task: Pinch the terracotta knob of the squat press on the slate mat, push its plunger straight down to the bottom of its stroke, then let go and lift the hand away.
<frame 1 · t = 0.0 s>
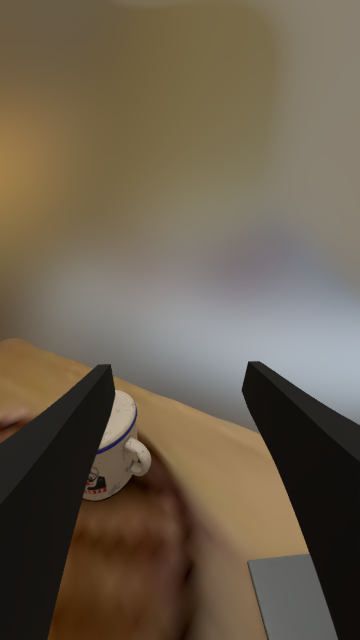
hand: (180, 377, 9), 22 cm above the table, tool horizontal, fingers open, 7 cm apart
teacup with lid: (115, 468, 24), on the table
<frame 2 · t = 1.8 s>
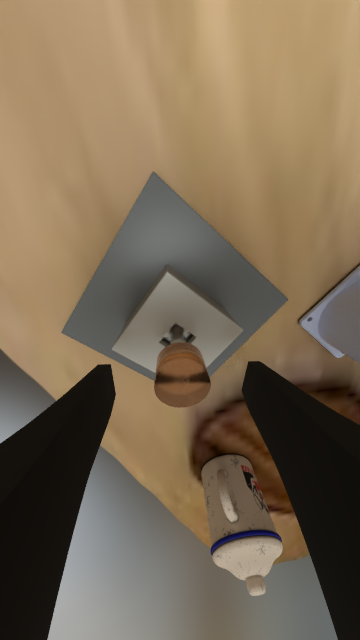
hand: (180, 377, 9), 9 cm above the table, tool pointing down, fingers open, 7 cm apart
plunger: (179, 352, 11), point 7 cm above the table, slide at 0.0 cm
press: (175, 314, 17), on the table
teacup with lid: (222, 462, 29), on the table
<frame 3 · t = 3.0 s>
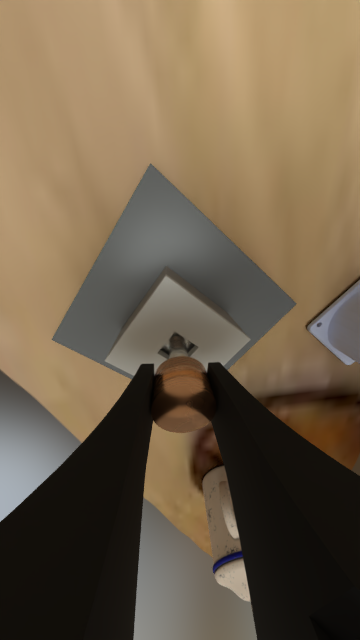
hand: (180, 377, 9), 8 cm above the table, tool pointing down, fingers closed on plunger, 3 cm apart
plunger: (179, 366, 10), point 7 cm above the table, slide at 0.0 cm, touching gripper
press: (174, 319, 16), on the table
teacup with lid: (224, 471, 28), on the table
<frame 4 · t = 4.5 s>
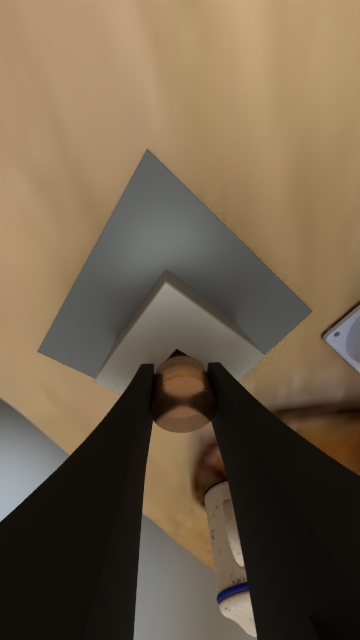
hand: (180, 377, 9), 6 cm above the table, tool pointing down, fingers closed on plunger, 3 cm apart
plunger: (179, 366, 10), point 5 cm above the table, slide at 1.9 cm, touching gripper
press: (175, 329, 14), on the table
teacup with lid: (228, 487, 26), on the table
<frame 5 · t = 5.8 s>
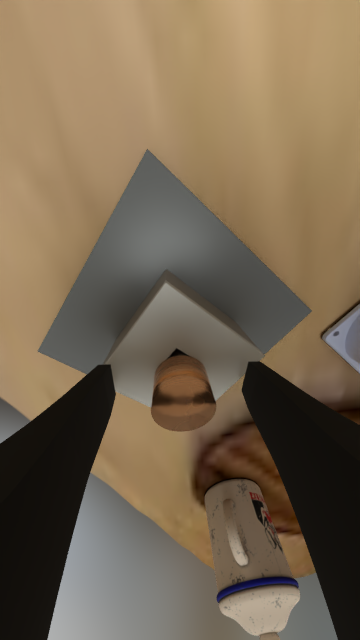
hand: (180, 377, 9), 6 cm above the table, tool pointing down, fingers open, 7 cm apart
plunger: (179, 365, 10), point 5 cm above the table, slide at 1.9 cm
press: (175, 328, 14), on the table
teacup with lid: (228, 486, 26), on the table
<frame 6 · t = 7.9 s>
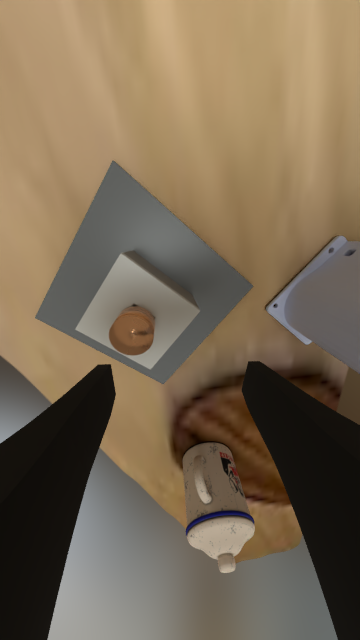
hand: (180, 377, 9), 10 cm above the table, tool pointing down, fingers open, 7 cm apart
plunger: (138, 318, 14), point 5 cm above the table, slide at 1.9 cm
press: (145, 300, 18), on the table
teacup with lid: (203, 450, 30), on the table
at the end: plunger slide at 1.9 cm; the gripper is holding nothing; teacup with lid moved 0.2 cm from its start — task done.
